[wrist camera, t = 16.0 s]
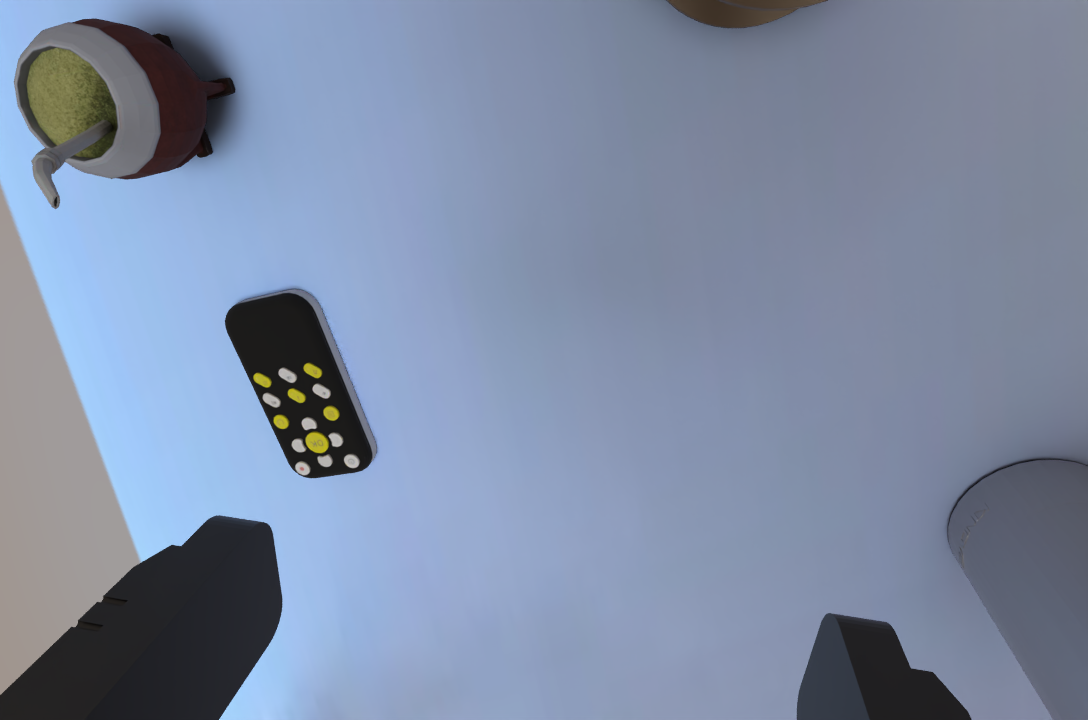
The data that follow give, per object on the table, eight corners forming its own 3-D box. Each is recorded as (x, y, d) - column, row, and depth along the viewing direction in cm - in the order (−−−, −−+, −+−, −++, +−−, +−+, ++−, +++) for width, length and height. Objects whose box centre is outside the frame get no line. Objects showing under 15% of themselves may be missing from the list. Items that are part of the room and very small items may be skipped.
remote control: (315, 281, 40) (299, 292, 38) (386, 457, 44) (374, 474, 43) (230, 301, 41) (210, 312, 39) (307, 469, 46) (293, 485, 44)
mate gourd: (104, 43, 35) (-237, 30, 22) (228, 6, 34) (-59, -32, 20) (163, 181, 38) (-107, 246, 25) (280, 154, 36) (59, 208, 23)
